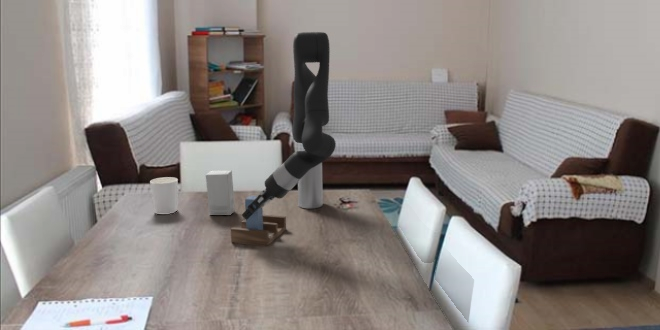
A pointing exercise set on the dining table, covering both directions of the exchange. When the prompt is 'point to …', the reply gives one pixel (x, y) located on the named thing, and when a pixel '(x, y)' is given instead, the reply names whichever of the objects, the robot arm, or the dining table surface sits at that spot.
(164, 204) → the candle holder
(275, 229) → the rack
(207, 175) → the skincare box
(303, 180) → the robot arm
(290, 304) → the dining table surface
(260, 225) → the block
